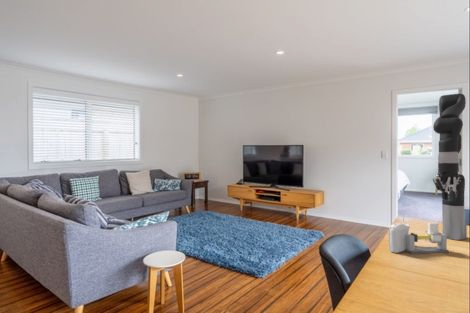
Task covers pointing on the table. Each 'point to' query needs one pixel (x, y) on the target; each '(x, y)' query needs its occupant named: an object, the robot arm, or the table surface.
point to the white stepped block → (434, 233)
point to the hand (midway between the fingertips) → (448, 199)
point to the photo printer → (397, 237)
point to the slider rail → (419, 250)
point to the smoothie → (406, 225)
